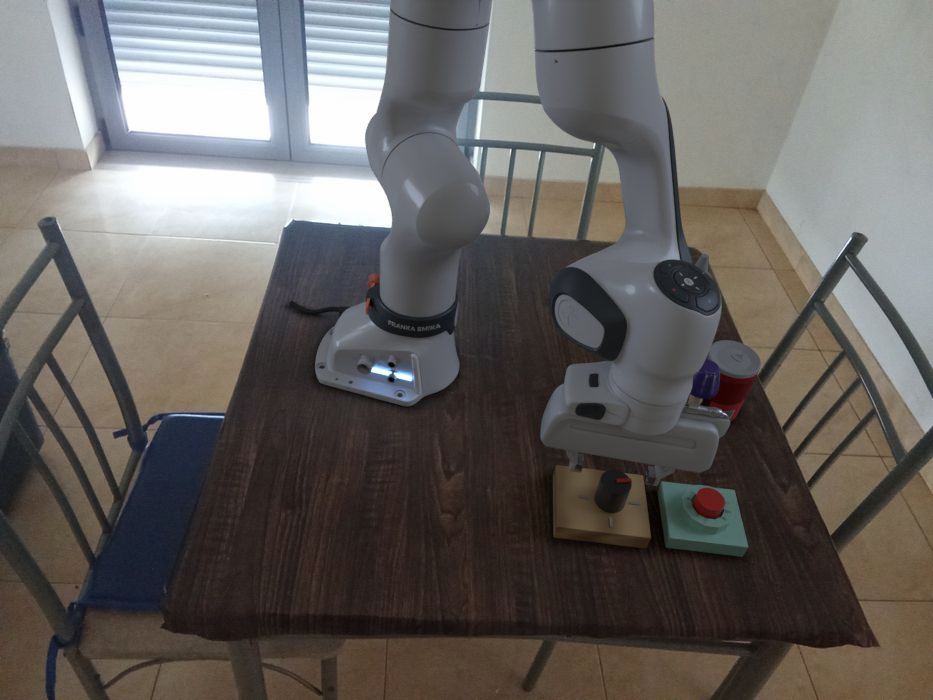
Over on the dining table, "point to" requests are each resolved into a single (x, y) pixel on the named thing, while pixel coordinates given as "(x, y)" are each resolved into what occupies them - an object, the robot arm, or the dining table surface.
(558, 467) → the dimmer panel
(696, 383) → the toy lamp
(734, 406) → the canned food
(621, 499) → the dimmer knob
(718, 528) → the switch block
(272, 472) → the dining table surface
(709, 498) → the power button
